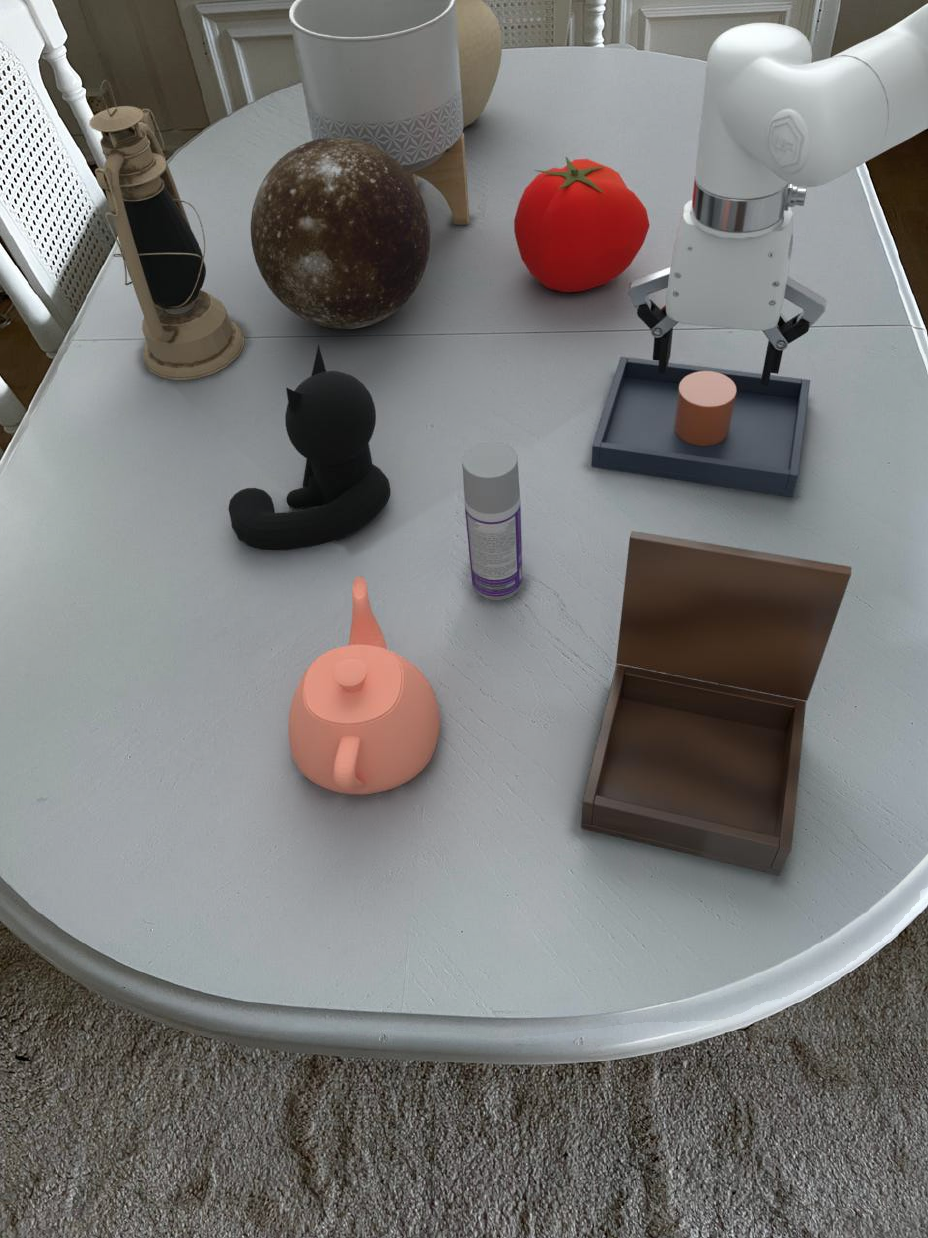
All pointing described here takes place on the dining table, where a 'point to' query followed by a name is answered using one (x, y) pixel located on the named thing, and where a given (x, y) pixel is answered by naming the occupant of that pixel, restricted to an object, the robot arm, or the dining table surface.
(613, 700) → the brown wooden shallow box
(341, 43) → the planter
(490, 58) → the vase
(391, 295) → the decorative sphere
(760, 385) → the tray
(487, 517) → the container
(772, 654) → the lid
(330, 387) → the figurine
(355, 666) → the teapot
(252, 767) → the dining table surface
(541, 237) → the tomato
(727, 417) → the orange cylinder puck
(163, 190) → the lantern
